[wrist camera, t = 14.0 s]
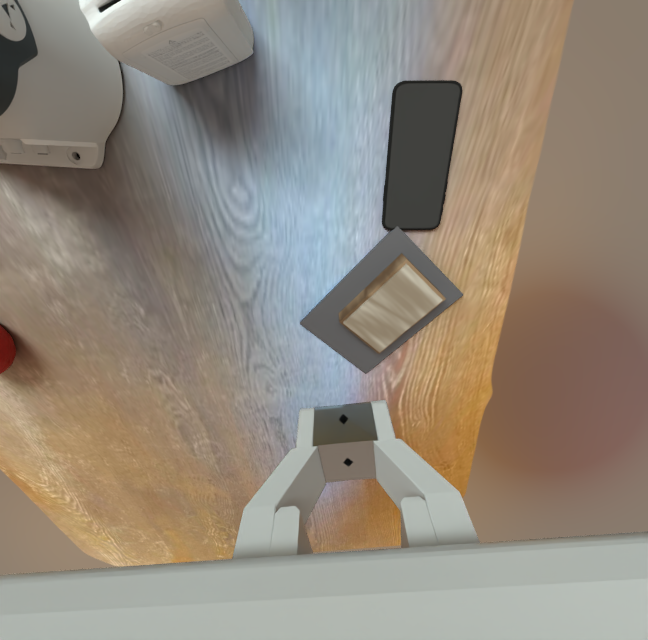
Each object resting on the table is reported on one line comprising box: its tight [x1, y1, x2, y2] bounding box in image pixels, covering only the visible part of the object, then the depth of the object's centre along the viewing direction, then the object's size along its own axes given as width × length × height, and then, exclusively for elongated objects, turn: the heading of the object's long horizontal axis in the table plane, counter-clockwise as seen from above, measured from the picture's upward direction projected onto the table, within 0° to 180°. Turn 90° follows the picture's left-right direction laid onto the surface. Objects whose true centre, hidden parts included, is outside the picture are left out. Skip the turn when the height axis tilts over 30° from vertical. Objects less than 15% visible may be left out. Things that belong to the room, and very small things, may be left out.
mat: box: [300, 226, 463, 374], centre depth 43 cm, size 19×14×1 cm
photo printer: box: [79, 0, 254, 85], centre depth 24 cm, size 10×4×12 cm, turn 107°
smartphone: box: [382, 81, 462, 230], centre depth 34 cm, size 7×1×15 cm
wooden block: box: [339, 253, 446, 354], centre depth 41 cm, size 3×8×12 cm
